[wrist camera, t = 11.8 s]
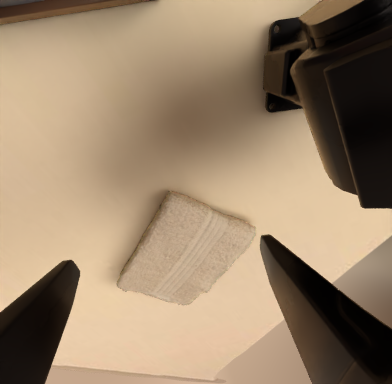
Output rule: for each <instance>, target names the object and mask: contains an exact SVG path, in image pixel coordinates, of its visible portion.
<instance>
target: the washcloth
mask: <svg viewBox="0 0 392 384" xmlns="http://www.w3.org/2000/svg"><path fill="white" fill-rule="evenodd" d="M255 235H256V228H255V227H254V226H252V225H251V224H249V223H246V222H245V221H242V220H240V219H238V218H235V217H232V216H228V215H227V216H226V215H224V214H221V213H220V212H217V211H215V210H212V209H211V208H209V206H208V205H206V204H204V203H201V202H198V201H197V200H194V199H191V198H190V197H187V196H185V195H182V194H180V193H177V192H173V191H172V192H170V191H168V194H167V197H166V198H165V200H164V202H163V203H162V204H161V205H160V208H159V210H158V211H157V214H156V216H155V218H154V220H153V221H152V222H151V224H150V225H149V227H148V228H147V230H146V232H145V234H144V235H143V236H142V239H141V240H140V243H139V245H138V247H137V248H136V250H135V252H134V254H133V256H132V257H131V258H130V259H129V260H128V263H127V264H126V266H125V268H124V269H123V270H122V272H121V273H120V277H119V279H118V281H117V287H118V288H120V289H122V290H123V291H125V292H126V291H133V292H138V293H142V294H145V295H149V296H152V297H155V298H158V299H161V300H164V301H167V302H172V303H177V304H178V305H180V304H181V305H189V304H190V303H192V302H193V301H194V300H195V299H196V298H197V297H198V296H199V295H200V294H202V293H204V292H206V293H207V292H208V291H209V290H210V289H211V287H212V285H213V284H214V283H215V282H216V281H217V280H218V279H219V278H220V277H221V276H222V275H223V274H224V273H225V272H226V271H227V270H228V269H229V268H230V267H231V265H232V264H233V263H234V262H235V260H236V259H238V258H239V256H240V255H241V254H243V253H244V251H245V250H246V249H248V248H249V246H250V244H251V243H252V241H253V238H254V236H255Z"/></svg>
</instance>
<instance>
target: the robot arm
mask: <svg viewBox="0 0 392 384" xmlns="http://www.w3.org/2000/svg"><path fill="white" fill-rule="evenodd" d="M276 25H277V26H278V27H279V31H278V33H276V32H275V30H274V29H275V26H276ZM263 89H264V90H265V91H266V104H265V108H266V110H267V111H268V112H279V111H286V110H293V109H300V108H303V110H304V113H305V116H306V118H307V121H308V124H309V127H310V130H311V132H312V135H313V138H314V141H315V144H316V146H317V149H318V152H319V155H320V158H321V161H322V163H323V166H324V169H325V171H326V173H327V174H328V176H329V178H330V179H331V180H332V182H333V184H334V185H335V186H336V187H338V188H340V189H341V190H343V191H346V192H349V193H352V194H355V195H358V198H359V202H360V205H361V207H362V208H390V209H392V0H322V1H320V2H319V3H318V4H316V5H315V6H313V7H312V8H311V9H309V10H308V11H307V12H305V13H304V14H303V15H301V16H300V17H296V18H290V19H283V20H278V21H275V22H273V23H272V24H271V26H270V29H269V45H268V52H267V53H266V55H265V59H264V81H263ZM271 104H274V106H273V108H272V109H270V105H271ZM260 251H261V255H262V258H263V262H264V265H265V269H266V272H267V275H268V279H269V282H270V285H271V287H272V290H273V292H274V294H275V297H276V299H277V301H278V304H279V306H280V309H281V311H282V313H283V316H284V318H285V320H286V322H287V325H288V328H289V330H290V332H291V335H292V337H293V339H294V342H295V344H296V346H297V349H298V351H299V354H300V356H301V358H302V361H303V363H304V365H305V368H306V370H307V372H308V375H309V377H310V380H311V382H312V384H392V329H391V328H390V327H389V326H387V325H386V324H384V323H383V322H381V321H380V320H379V319H377V318H376V317H374V316H373V315H372V314H370V313H369V312H367V311H366V310H364V309H363V308H362V307H360V306H359V305H358V304H357V303H355V302H354V301H353V300H351V299H350V298H349V297H347V296H346V295H345V294H344V293H343V292H341V291H340V290H338V289H337V288H336V287H335V286H334V285H333V284H331V283H330V282H329V281H328V280H326V279H325V278H324V277H323V276H321V275H320V274H319V273H318V272H316V271H315V270H314V269H313V268H311V267H310V266H309V265H308V264H306V263H305V262H304V261H303V260H301V259H300V258H299V257H298V256H296V255H295V254H294V253H293V252H291V251H290V250H289V249H288V248H286V247H285V246H284V245H283V244H281V243H280V242H279V241H278V240H276V239H275V238H274V237H273V236H271V235H269V234H268V235H262V236H261V239H260ZM79 277H80V270H79V269H78V267H77V266H76V264H75V263H74V261H72V260H66V261H62V262H61V263H59V264H58V265H57V266H56V267H55V268H53V269H52V270H51V271H50V272H49V273H47V274H46V275H45V276H44V277H43V278H41V279H40V280H39V281H38V282H37V283H35V284H34V285H33V286H32V287H30V288H29V289H28V290H27V291H26V292H24V293H23V294H22V295H21V296H20V297H18V298H17V299H16V300H15V301H14V302H12V303H11V304H10V305H9V306H8V307H6V308H5V309H4V310H3V311H2V312H0V384H45V382H46V379H47V376H48V373H49V370H50V368H51V365H52V362H53V359H54V357H55V354H56V351H57V348H58V345H59V343H60V340H61V337H62V334H63V331H64V328H65V326H66V323H67V320H68V317H69V314H70V312H71V308H72V305H73V301H74V297H75V293H76V289H77V285H78V281H79Z"/></svg>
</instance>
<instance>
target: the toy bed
mask: <svg viewBox="0 0 392 384" xmlns="http://www.w3.org/2000/svg"><path fill="white" fill-rule="evenodd" d="M145 1H152V0H0V25H1V24H7V23H13V22H20V21H26V20H32V19H38V18H45V17H51V16H57V15H64V14H70V13H76V12H82V11H89V10H95V9H101V8H107V7H114V6H120V5H126V4H132V3H139V2H145Z"/></svg>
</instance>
